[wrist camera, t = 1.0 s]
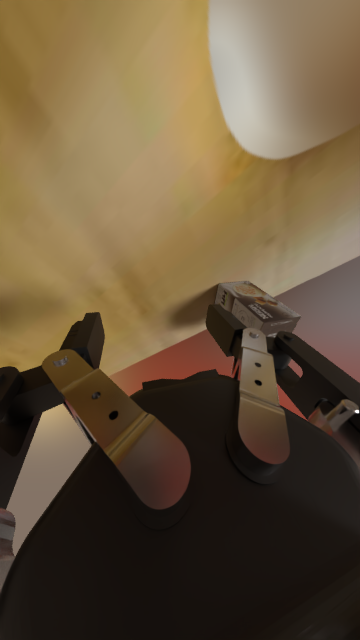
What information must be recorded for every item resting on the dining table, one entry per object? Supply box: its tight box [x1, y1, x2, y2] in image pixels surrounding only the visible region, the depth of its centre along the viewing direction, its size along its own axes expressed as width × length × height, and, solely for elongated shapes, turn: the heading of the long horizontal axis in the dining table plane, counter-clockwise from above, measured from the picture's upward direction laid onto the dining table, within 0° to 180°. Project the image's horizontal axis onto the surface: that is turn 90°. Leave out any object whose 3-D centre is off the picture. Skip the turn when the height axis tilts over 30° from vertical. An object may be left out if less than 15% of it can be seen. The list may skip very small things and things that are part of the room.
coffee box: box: [215, 281, 301, 337], centre depth 36 cm, size 9×6×16 cm
